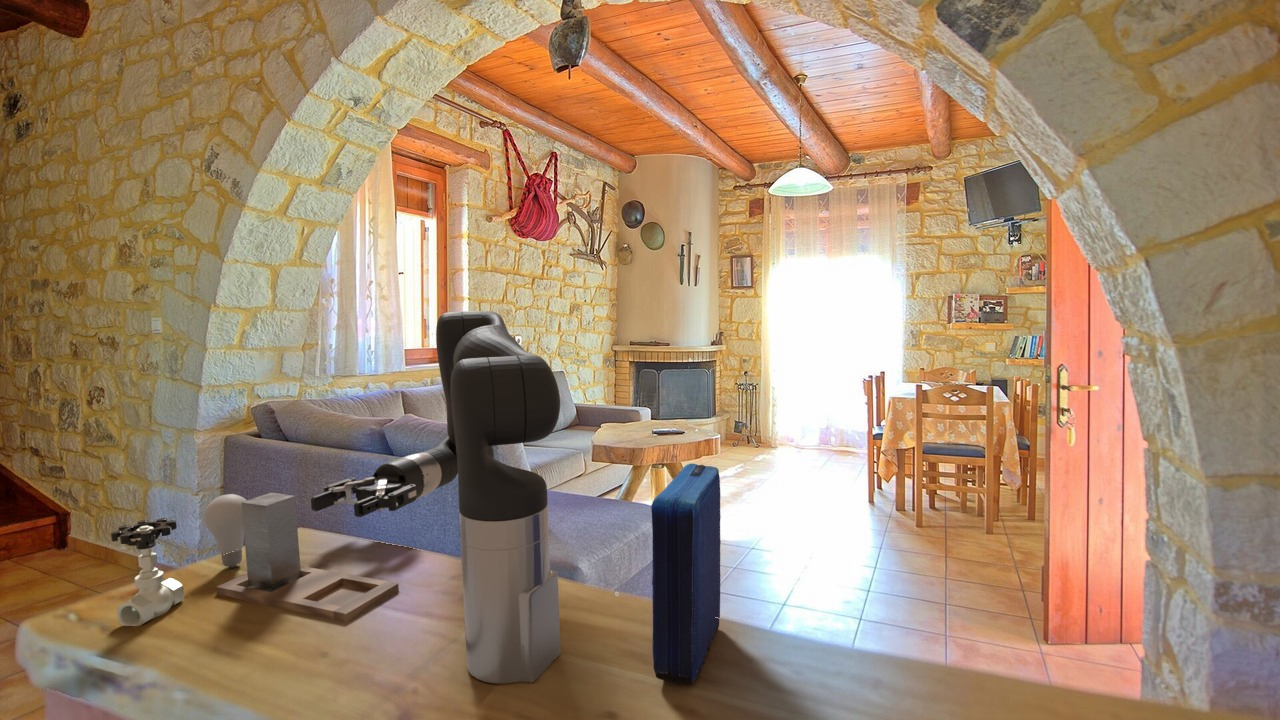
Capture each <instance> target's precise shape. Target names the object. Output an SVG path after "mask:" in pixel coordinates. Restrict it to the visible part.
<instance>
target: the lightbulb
mask: <svg viewBox="0 0 1280 720" xmlns="http://www.w3.org/2000/svg"><path fill="white" fill-rule="evenodd" d="M244 501H247V499H246V498H245V497H243V496H240V495H239V494H235V493H229V494H222V495H220V496H217V497H216V498H214V499H213V500H212V501H210V503H208V505H207V506H206V508H205V510H204V514H203V522H204V525H205V527H206V528H207V530H208V531H209V532H210V534H211V535H212V536H213V537H214V539H215V541H216V543H217V547H218V552H219V553H220V555H222V556H221V557H220V558H221V562H222V565H223V566H225V567H226V566H227V567H228V568H235V567H237V566H238V564H240V563H241V562H242V560H243V548H244V540H245V539H244V527H243V516H242V504H241V502H244ZM242 547H243V548H242ZM237 549H238V550H237ZM232 551H234V552H232ZM229 552H230V553H229ZM226 553H228V554H226ZM223 554H225V555H223Z"/></svg>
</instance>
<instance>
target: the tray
mask: <svg viewBox="0 0 1280 720" xmlns="http://www.w3.org/2000/svg"><path fill="white" fill-rule="evenodd" d="M300 568H301V578H299V579H297V580H295V581H293V582H291V583H289V584H287V585H285V586H283V587H281V588H279V589H277V590H275V591H273V592H267V591H262V590H257V589H252V588H249V585H248V574H247V573H245V574H242V575H240V576H238V577H236V578H233V579H231V580H228V581H226V582H224V583H222V584H219V585H217V586H216V595H219V596H223V597H227V598H233V599H237V600H243V601H246V602H250V603H251V602H252V603H256V604H261V605H263V606H264V605H265V606H271V607H274V608H279V609H284V610H288V611H293V612H298V613H301V614H307V615H311V616H315V617H321V618H326V619H329V620H334V621H341V622H344V623H348V622H349V621H351V620H352V619H354V618H356V617H359V616H360V615H361V614H363V613H364V612H366V611H368V610H369V609H371V608H373V607H374V606H376V605H378V604H379V603H381V602H383V601H384V600H386V599H388V598H389V597H391V596H393V595H394V594H397V593H398V592H399V591H400V589H399V586H400V585H399V582H393V581H388V580H382V579H376V578H371V577H365V576H360V575H354V574H349V573H342V572H337V571H332V570H326V569H321V568H315V567H309V566H303V565H300Z"/></svg>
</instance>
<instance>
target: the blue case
mask: <svg viewBox="0 0 1280 720" xmlns="http://www.w3.org/2000/svg"><path fill="white" fill-rule="evenodd" d="M719 472H720V471H719V468H718V467H716V466H711V465H704V464H696V463H687V464H686V465H684V466H683V467H682V468H681V470H680V472H679V473H678V474H677V475H676V477H675V478H673V479H672V481H671V482H669V484H668V485H667V486H666V487H665V488H664V489H663V490H662V491H660V493H659V494H658V495H657V496H656V497H654V499H653V501H652V504H651V506H650V510H651V512H650V513H651V526H652V527H651V528H652V532H651V533H652V576H651V577H652V578H651V587H652V658H653V659H652V661H653V671H654V674H655V677H656V679H658V680H663V681H669V682H674V683H682V684H684V685H692V684H694V683H695V682H696V680H697V678H698V677H699V676H700V674H701V672H702V668H703V667H704V665H705V663H706V659H707V655H708V652H710V651H711V650H710V649H711V645H712V642H713V640H714V638H715V634H716V633H717V632H718V630H719V628H720V620H721V619H718V618H720V617H721V517H722V516H721V499H722V498H721V477H720V473H719ZM715 617H718V618H715Z"/></svg>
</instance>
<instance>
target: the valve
mask: <svg viewBox="0 0 1280 720" xmlns="http://www.w3.org/2000/svg"><path fill="white" fill-rule="evenodd" d="M177 528H178V526H177V521H176V520H168V518H167V517H161V518H158V519H156V520H155V521H154V520H153V521H149V520H148V519H141V520H139V521H137V522H136V524H134V525H128V524H123V525H120V526H118V528H117V529H118V530H115V531H112V532H110V540H111V542H118V541H119V542H120V545H127V546H130V547H136V550H139V551H140V550H141V554H140V555H139V554H138V556H137V560H138V561H137V562H138V567H139V568H141V570H140V571H139V574H138V575H136V576H135V577H134V578H133V579H134V586H135V588H138V592H137V593H136V594H135V595H134V596H133V597H132V598H131V599H129V600H127V601H125V602H124V603H122V604H120V605H119V606H118V607H117V609H116V611H117V613H116V615H117V620H118V622H119V624H121V626H123V627H125V626H127V627H129V626H132V627H140V626H142V625H143V624H145V623H147V622H149V621H150V620H152V619H156V618H158V617H160V616H163V615H164V614H166V613H168V611H170V609H171V608H172V607H174V606H175V605H176V604H179V603H180V602H182V601H183V600H185V590H184V586H183V584H182V583H181V582H180V581H178V580H176V579H175V578H171V577H169V578H168V579H166V580H165V573H164V571H162V570H159V569H158V568H157V567H155V566H156V565H157V564H158V559H157V553H156V552H153V551H152V548H153V547H155V546H156V545H157V544H156V543H157V542H156V540H158V538H159V537H160V535H161V537H166V536H170V535H172V532H171V530H172V531H174V530H177ZM133 539H134V540H133Z"/></svg>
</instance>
